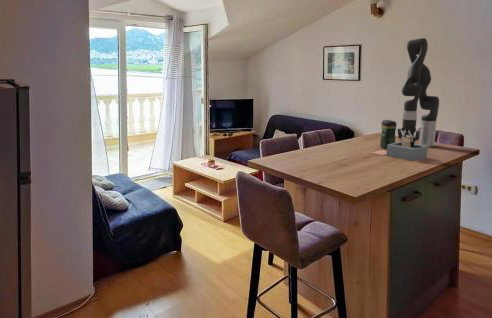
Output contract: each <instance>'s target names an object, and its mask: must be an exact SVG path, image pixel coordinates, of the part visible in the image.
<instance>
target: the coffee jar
mask: <svg viewBox="0 0 492 318" xmlns="http://www.w3.org/2000/svg"><path fill="white" fill-rule="evenodd" d="M396 129H397V122H396V121H394V120H391V119H384V120H382V121H381V134H380V141H379V142H380V143H379V146H380V148H382V149H385V150H387V145H388V144H393V143H396V131H397V130H396Z"/></svg>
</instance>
